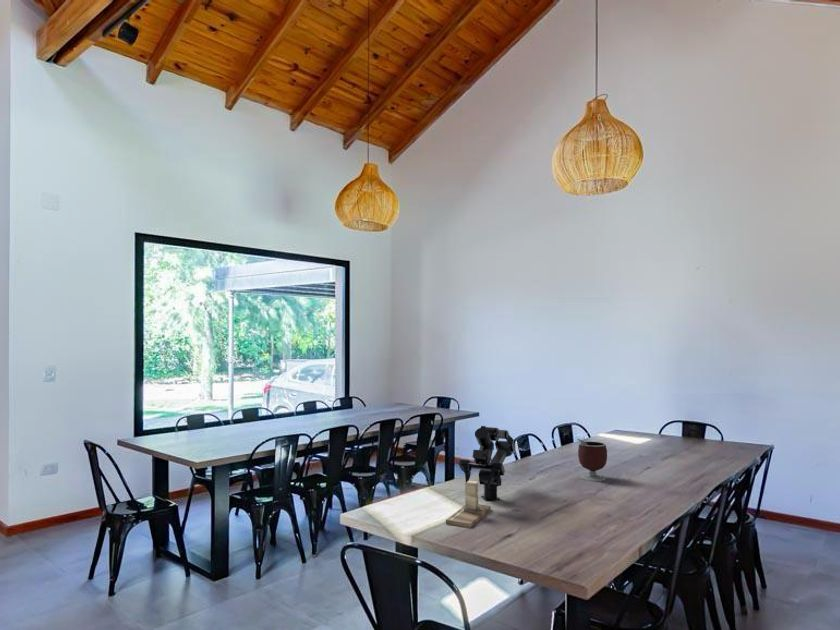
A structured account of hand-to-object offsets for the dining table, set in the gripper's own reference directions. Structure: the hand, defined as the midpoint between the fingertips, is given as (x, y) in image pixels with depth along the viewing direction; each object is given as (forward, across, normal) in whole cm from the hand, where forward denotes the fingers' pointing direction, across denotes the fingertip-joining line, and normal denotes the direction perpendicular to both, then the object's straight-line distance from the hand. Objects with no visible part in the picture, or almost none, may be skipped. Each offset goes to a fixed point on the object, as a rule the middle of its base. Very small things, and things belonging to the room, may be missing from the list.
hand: (477, 485), depth 231 cm
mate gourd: (-44, +35, +59) cm, 81 cm away
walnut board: (+14, 0, 0) cm, 14 cm away
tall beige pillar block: (+10, 0, +1) cm, 11 cm away
